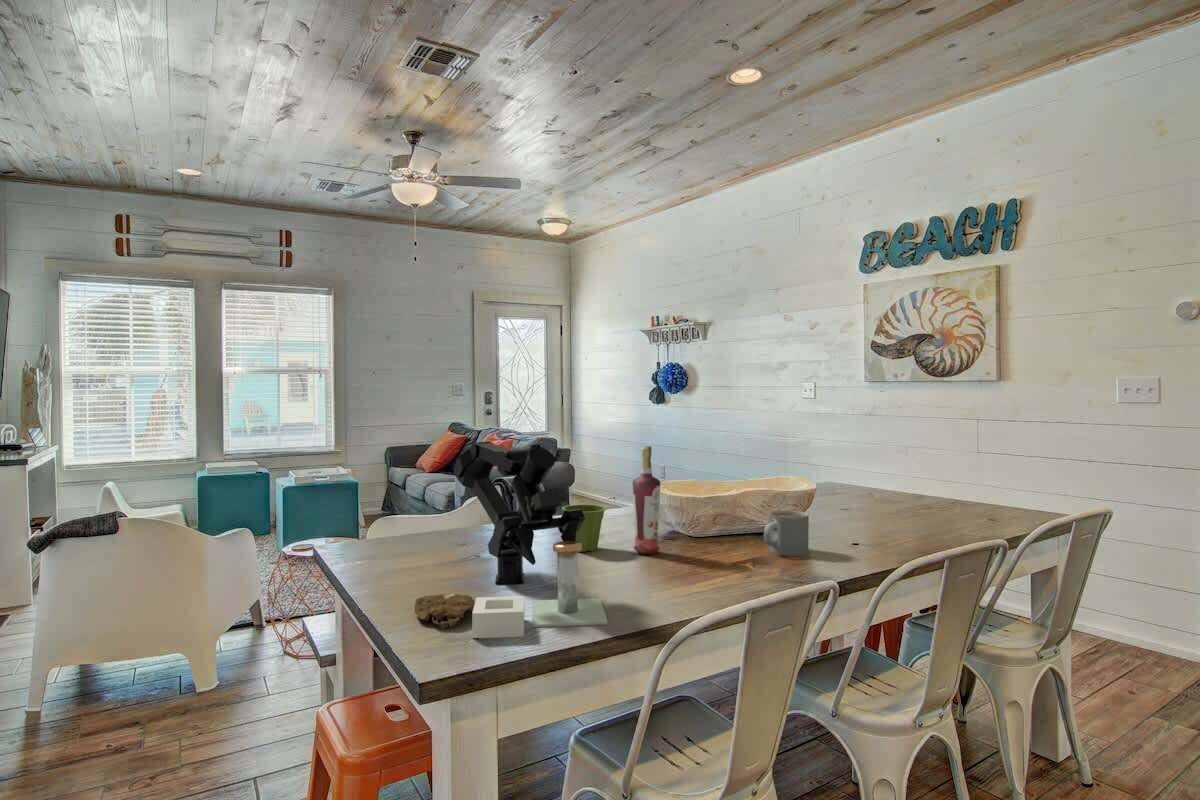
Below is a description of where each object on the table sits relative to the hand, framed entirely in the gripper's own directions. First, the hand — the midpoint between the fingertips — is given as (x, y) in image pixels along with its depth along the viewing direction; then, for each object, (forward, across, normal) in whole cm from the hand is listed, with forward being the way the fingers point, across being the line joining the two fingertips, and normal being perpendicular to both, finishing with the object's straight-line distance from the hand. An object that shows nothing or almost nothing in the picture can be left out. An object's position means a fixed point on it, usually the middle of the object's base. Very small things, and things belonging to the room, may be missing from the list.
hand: (554, 560), depth 140 cm
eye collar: (+11, -15, +2) cm, 18 cm away
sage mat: (+10, 0, +2) cm, 11 cm away
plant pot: (-19, +29, +33) cm, 48 cm away
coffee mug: (+2, +71, +11) cm, 72 cm away
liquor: (-11, +40, +24) cm, 48 cm away
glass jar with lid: (+10, 0, +2) cm, 10 cm away
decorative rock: (+3, -21, +11) cm, 24 cm away
